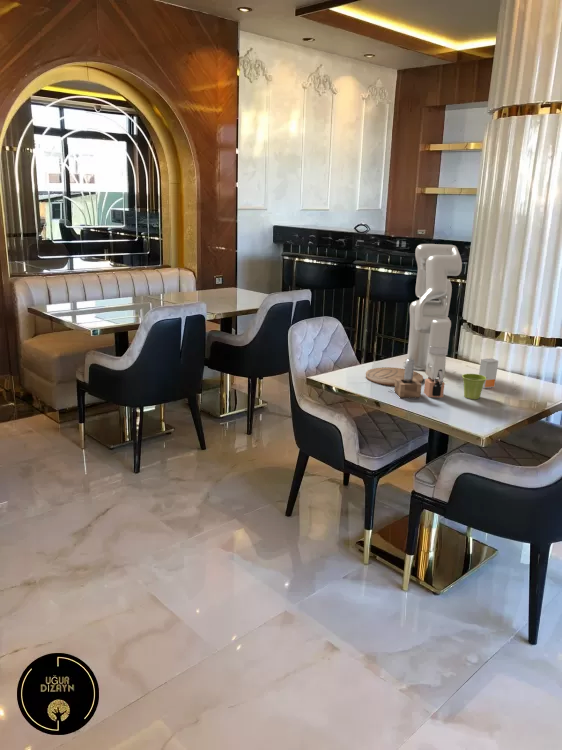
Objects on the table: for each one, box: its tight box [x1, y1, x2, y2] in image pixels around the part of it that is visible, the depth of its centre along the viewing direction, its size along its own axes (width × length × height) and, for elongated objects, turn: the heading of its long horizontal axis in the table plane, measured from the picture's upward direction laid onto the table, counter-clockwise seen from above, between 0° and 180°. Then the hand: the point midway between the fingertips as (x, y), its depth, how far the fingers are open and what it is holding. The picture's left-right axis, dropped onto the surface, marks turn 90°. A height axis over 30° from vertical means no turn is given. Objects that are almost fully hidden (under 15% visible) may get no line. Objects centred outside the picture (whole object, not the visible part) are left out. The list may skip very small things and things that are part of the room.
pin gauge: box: [404, 358, 415, 383], centre depth 248 cm, size 3×3×14 cm
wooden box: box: [393, 378, 422, 399], centre depth 250 cm, size 8×8×6 cm
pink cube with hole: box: [423, 378, 446, 398], centre depth 251 cm, size 6×6×6 cm
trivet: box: [365, 366, 424, 387], centre depth 272 cm, size 25×25×2 cm
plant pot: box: [461, 373, 486, 400], centre depth 249 cm, size 9×9×9 cm
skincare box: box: [478, 357, 499, 389], centre depth 263 cm, size 6×4×12 cm
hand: (433, 392), depth 251 cm, fingers closed on pink cube with hole, 6 cm apart
